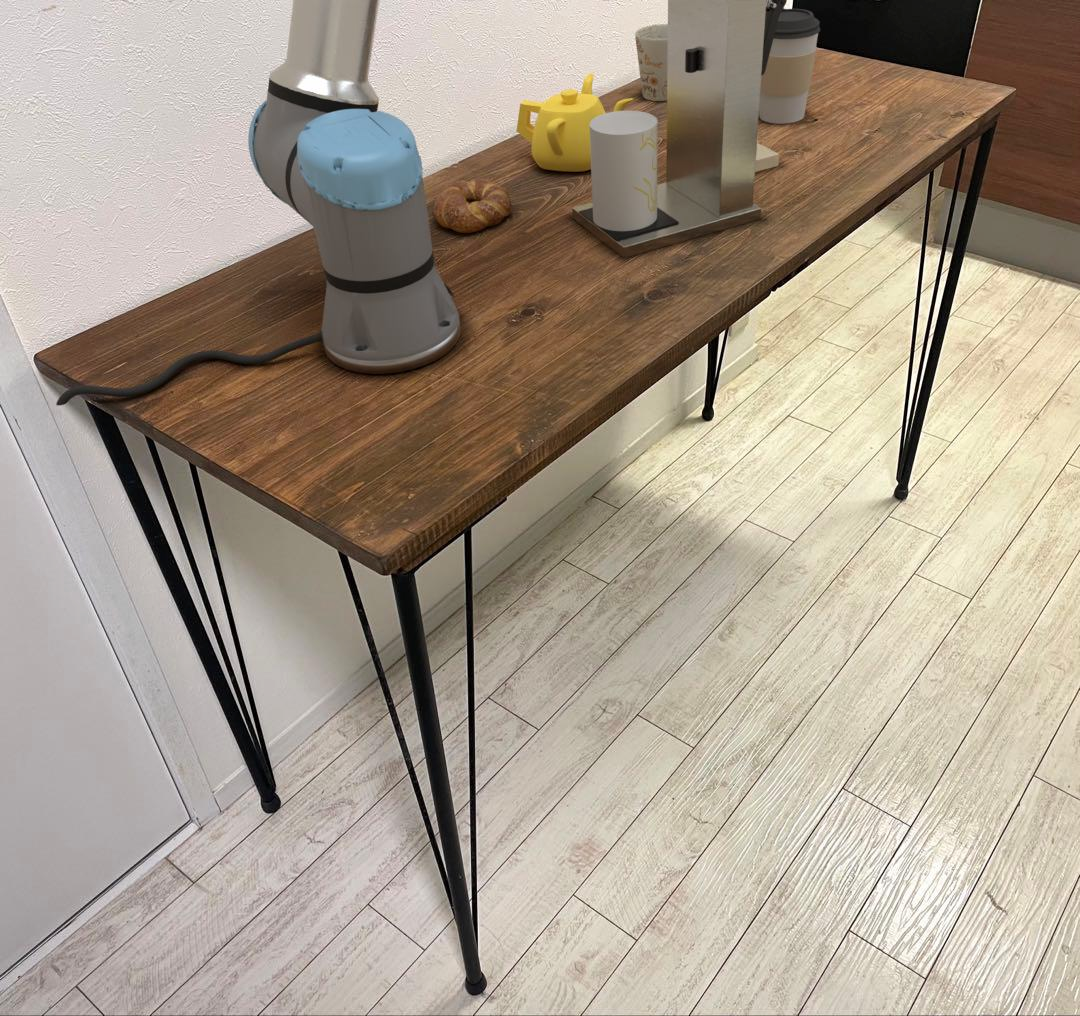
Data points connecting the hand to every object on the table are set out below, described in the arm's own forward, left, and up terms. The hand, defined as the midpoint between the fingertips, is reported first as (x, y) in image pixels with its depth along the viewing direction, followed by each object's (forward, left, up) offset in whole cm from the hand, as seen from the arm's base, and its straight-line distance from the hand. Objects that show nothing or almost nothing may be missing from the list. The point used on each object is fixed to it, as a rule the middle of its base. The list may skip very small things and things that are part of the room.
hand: (734, 131), depth 142 cm
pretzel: (-38, +5, -5) cm, 39 cm away
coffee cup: (+17, +12, -5) cm, 21 cm away
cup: (-23, -10, -3) cm, 25 cm away
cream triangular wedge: (0, 0, -5) cm, 5 cm away
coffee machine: (-16, -10, -5) cm, 19 cm away
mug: (+9, +31, -5) cm, 33 cm away
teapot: (-17, +15, -5) cm, 23 cm away
